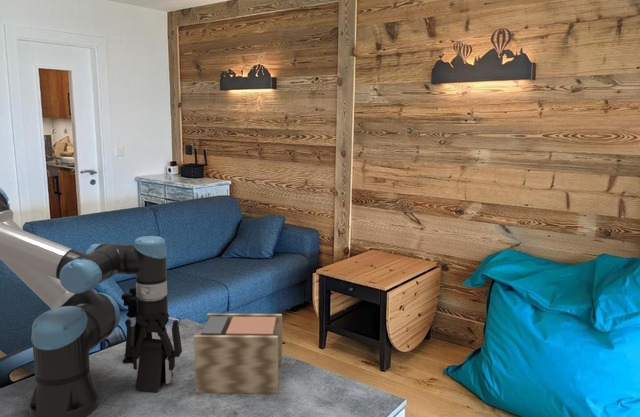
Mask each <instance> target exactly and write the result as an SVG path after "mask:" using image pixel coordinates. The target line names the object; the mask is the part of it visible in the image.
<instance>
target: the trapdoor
mask: <svg viewBox="0 0 640 417" xmlns="http://www.w3.org/2000/svg"><path fill="white" fill-rule="evenodd" d="M275 324H276V317H233V318H232V320H231V322H230V325H229V319H228V317H226V316H210V318H209V320H208V322H207V321H206V324H205V325H204V327H203V328H202V330H201V332H200V335H253V336H273V333H274V328H275Z"/></svg>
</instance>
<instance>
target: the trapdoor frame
mask: <svg viewBox="0 0 640 417" xmlns="http://www.w3.org/2000/svg"><path fill="white" fill-rule="evenodd" d="M210 316H226V317H228V319H229V325H230V322H231V320H232V318H233V317H276V324H275V328H274V333H273V336H253V335H201V334H195V335H194V336H193V340H194V341H193V342H194V343H193V344H194V346H193V350H194V379H195V380H194V384H195V387H194V388H195V393H196V394H199V393H200V394H201V393H202V394H279V366H283V314H282V313H225V312H223V313H222V312H220V313H219V312H215V313H213V312H212V313H211V312H210V313H209V312H208V313H207V314H206V320H207V321H206V323H207V322H208V320H209V318H210Z"/></svg>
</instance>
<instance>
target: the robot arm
mask: <svg viewBox="0 0 640 417" xmlns="http://www.w3.org/2000/svg"><path fill="white" fill-rule="evenodd" d="M9 200H10V199H9V197H8V195H7V193H6V192H5V191H4V189H2V188H1V187H0V261H1V262H2V263H4V265H6V266H7V267H8V268H9V269H10V271H12V272H13V273H14V274H15V275H16V276H17V278H19V279H20V281H22V282H23V283H24V284H25V285H26V286H27V287H28V288H29V289H30V290H31V291H32V292H33V293H35V295H37V297H39V298H40V300H42V302H44V304H46V305H47V306H48V308H50V309H49V310H46V311H44V312H43V313H41V314H40V315H38V316H37V317H36V318H35V319H34V320H33V323H32V324H31V336H30V339H31V344H32V355H33V356H32V357H33V367H34V377H35V378H34V379H35V384H34V388H33V390H32V394H31V397H30V401H29V406H28V412H29V417H86V416H87V415H89V414H91V413H92V412H93V411H95V410H96V409H97V408H98V406H99V405H100V391H99V388H98V387H97V385H96V382H95V380H94V378H93V377H92V374H91V370H90V369H91V368H90V367H91V366H90V352H91V351H92V350H94V348H95V347H97V346H98V345H99V344H100V343H101V342H103V341H104V340H106V339H107V338H109V337H110V335H112V334H113V332H114V331H115V330H116V329H117V327H118V325H119V323H120V319H121V318H120V317H121V316H120V315H121V310H120V307H119V304H118V302H117V301H116V300H115V298H113V297H112V296H111V295H109V294H107V293H104V292H103V293H102V292H96V291H94V290H93V289H95V288H97V287H98V286H99V284H102V283H103V282H105V281H107V280H108V279H110V278H111V277H113V276H115V275H135V288H136V293H137V297H138V299H137V316H136V317H134V318H132V317H129V318H127V319H126V320H125V322H124V324H125V327H126V334H125V335H126V336H125V337H126V339H125V352H124V353H125V355H126V356H130V357H132V358H133V363H132V365H133V366H132V368H133V370H134V371H135V370H136V373H137V372H138V366H139V359H140V356H139V354H140V351H141V349H140V348H141V345H142V342H143V340H144V339H145V337H146V334H147V333H149V332H152V333H155V334H157V335H158V337H159V339H161V341H162V342H163V346H164V349H165V351H166V354H167V356H168V357H167V358H166V360H165V369H166V384H170V382H171V380H172V378H173V377H172V372H173V370H174V369H175V367H176V360H175V359H176V358H179V357H180V356H181V354H182V352H183V348H182V340H181V334H180V323H181V318H179V317H176V318H175V317H170V315H169V311H168V310H169V308H168V296H167V295H168V280H167V274H168V272H167V258H168V254H167V249H166V248H167V247H166V241H165V239H164V238H163V237H162V236H156V235H146V236H145V235H144V236H139V237H137V238H136V239H135V240H134V244H121V243H109V242H108V243H107V242H103V243H94V244H91V245H90V246H89V247H88V249H87V250H86V252H85V253H84V252H81V251H79V250H76V249H73V248H71V247H68V246H65V245H63V244H60V243H58V242H55V241H52V240H50V239H47V238H44V237H41V236H39V235H37V234H34V233H31V232H29V231H26V230H23V228H21V227H20V226H19V225H18V224H17V223H16V222H15V221H14V212H13V210H12V209H11V208H10V207H11V206H10V204H11V203H9ZM136 322H137V323H138V324H139V325H140V327H141V331H140V334H139V338H138V341H137V344H136V347H135V350H133V345H134V331H135V324H136ZM168 323H169V325H170V328H171V336H172V341H171V339H170V337H169V334H168V332H167V327H166V325H167V324H168ZM172 342H173V344H172ZM171 370H172V372H171Z"/></svg>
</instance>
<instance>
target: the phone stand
mask: <svg viewBox="0 0 640 417" xmlns="http://www.w3.org/2000/svg"><path fill="white" fill-rule="evenodd" d="M140 349H141V351H140V359H139V366H138V372H137V371H136V380H135V387H134V389H135V390H141V391H148V392H155V393H156V392H159V391H160V390H161V388H163V387H164V386H165V385H166V384H167V383H166V369H165V360H166V358H167V357H168V356H167V354H166V351H165V349H164V346H163V342H162V341H161V339H160V338H153V337H152V338H145V339H144V340H143V342H142V345H141V348H140ZM171 372H172V378H173V377H174V372H173V370H171Z"/></svg>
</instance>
